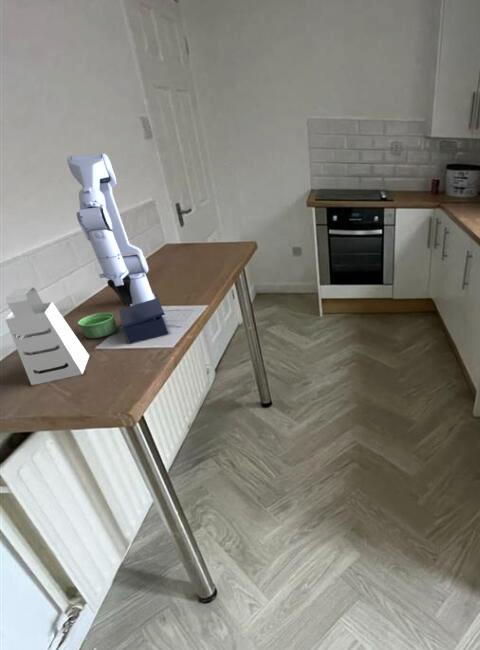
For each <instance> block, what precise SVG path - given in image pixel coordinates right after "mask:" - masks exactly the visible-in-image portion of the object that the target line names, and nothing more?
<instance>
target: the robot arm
mask: <svg viewBox="0 0 480 650" xmlns="http://www.w3.org/2000/svg"><path fill="white" fill-rule="evenodd" d="M66 159H67V160H66V161H67V165H68V168H69V170H70V173H71V174H72V176H73V178H74V179H75V180H76V181H77V182H78V184H79V185H81V187H82V188H81V189H79V191H78V198H79V199H78V201H79V210H78V211H76V218H77V222H78V223H79V226H80V228H81V230H82V231H83V233H84V235H85V237H86V239H87V241H89V242H90V244H91V247H92V249H93V252H94V254H95V257H96V259H97V261H98V264H99V266H100V268H101V270H102V271H101V272H102V273H99V275H98V276H99V278H100V279H104V278H105V279H108V280H107V285H108V286H109V287H110V289H112V290H113V291H114V292H115V293H116V295H117V296H118V298H119V299H120V301H121V302H122V304H123V305H124V306H127V305H129V307H130V306H133V305H136V304H139V303H143V302H146V301H149V300H152V299H156V298H157V297H156V296H155V293H153V290H152V288H151V286H150V283H149V280H148V277H147V274H148V272H149V265H148V262H147V259H146V257H145V256H144V253H143V251H142V249H140V247H138V246H135V245H134V244H132V243H130V241H129V238H128V235H127V232H126V229H125V227H124V223H123V220H122V218H121V215H120V212H119V209H118V206H117V203H116V200H115V197H114V194H113V193H114V192H113V187H115V186H116V185H117V184H118V183H117V178H116V174H115V171H114V169H113V166H112V163H111V160H110V158H109V156H108V155H107V154H106V153H104V152H102V153H96V154H94V153H93V154H82V155H81V154H80V155H68V156H67V158H66Z"/></svg>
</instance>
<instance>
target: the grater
mask: <svg viewBox="0 0 480 650" xmlns="http://www.w3.org/2000/svg"><path fill="white" fill-rule="evenodd" d="M5 300H6V304H7V306H8V307H9V310H10V311H11V312H10V313H9V315H7V316H6V318H5V319H4V320H5V322H6V325H7V327H8V330H9V333H10V335H11V337H12V340H13V342H14V345H15V348H16V350H17V353H18V355H19V357H20V360H21V362H22V365H23V367H24V370H25V374H26V376H27V379H28V380H29V382H30V383H29V384H30V385H31V386H35V385H40V384H44V383H49V382H54V381H58V380H63V379H67V378H70V377H71V378H72V377H77V376H81V375H84V372H85V370H86V366H87V364H88V361H89V358H90V354H89V352H87V350H86V348H85V347H84V346H83V344H82V343H81V342H80V340H79V339H78V337H77V336H76V334H75V333H74V331H73V330H72V328H71V327H70V325H69V324H68V323H67V321H66V320H65V318H64V317H63V315H62V314H61V313H60V311H59V310H58V308H57V307H56V305H55V304H54V302H53V301H49V302H44V301H42V299H41V297H40V295H39V293H38V291H37V290H36V288H35V287H33V286H31V287H25V288H24V287H23V288H19V289H13V290H12V291H11V292H10V293H9V294H8V295H7V296H6V297H5ZM66 364H67V367H65V368H60V369H56V370H52V369H55V368H58V367H63V366H65V365H66ZM50 369H51V371H47V372H43V373H40V372H41V371H46V370H50Z"/></svg>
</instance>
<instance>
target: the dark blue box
mask: <svg viewBox="0 0 480 650" xmlns="http://www.w3.org/2000/svg"><path fill="white" fill-rule="evenodd" d="M122 329H123V332H124V334H125V336H126V339H127V342H128V343H129V344H134V343H139V342H142V341H147V340H151V339H153V338H154V339H155V338H158V337H162V336H166V335H169V330H168V328H167V325H166V323H165V320H164V317H163V315H162V316H159V317H156V320H152V321H148V322H144V323H140V324H134V325H131V326H128V327H125V328H123V327H122Z"/></svg>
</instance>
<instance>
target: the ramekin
mask: <svg viewBox="0 0 480 650" xmlns="http://www.w3.org/2000/svg"><path fill="white" fill-rule="evenodd" d="M77 325H78V326H79V328H80V329H81V331H82V332H83V334H84V335H85V336H86V338H88V339H100V338H104V337H107V336H110V335H112V334H114V333H115V332H116V331H117V330H118V326H117V323H116V319H115V314H113V313H112V312H98V313H94V314H90V315H87V316H84V317H82V318H81V319H80V320H78V321H77Z"/></svg>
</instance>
